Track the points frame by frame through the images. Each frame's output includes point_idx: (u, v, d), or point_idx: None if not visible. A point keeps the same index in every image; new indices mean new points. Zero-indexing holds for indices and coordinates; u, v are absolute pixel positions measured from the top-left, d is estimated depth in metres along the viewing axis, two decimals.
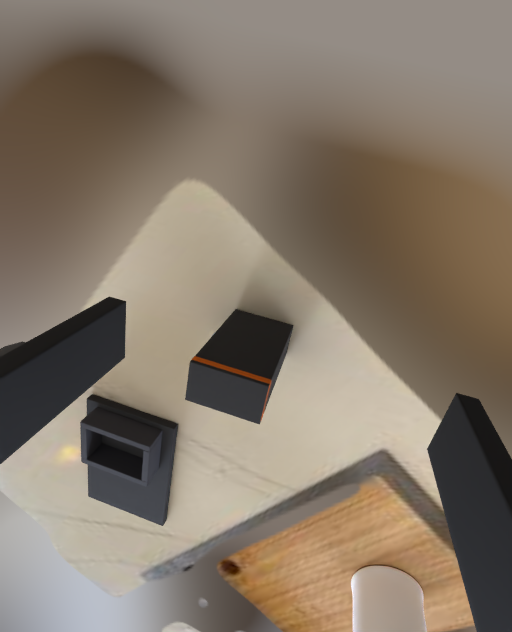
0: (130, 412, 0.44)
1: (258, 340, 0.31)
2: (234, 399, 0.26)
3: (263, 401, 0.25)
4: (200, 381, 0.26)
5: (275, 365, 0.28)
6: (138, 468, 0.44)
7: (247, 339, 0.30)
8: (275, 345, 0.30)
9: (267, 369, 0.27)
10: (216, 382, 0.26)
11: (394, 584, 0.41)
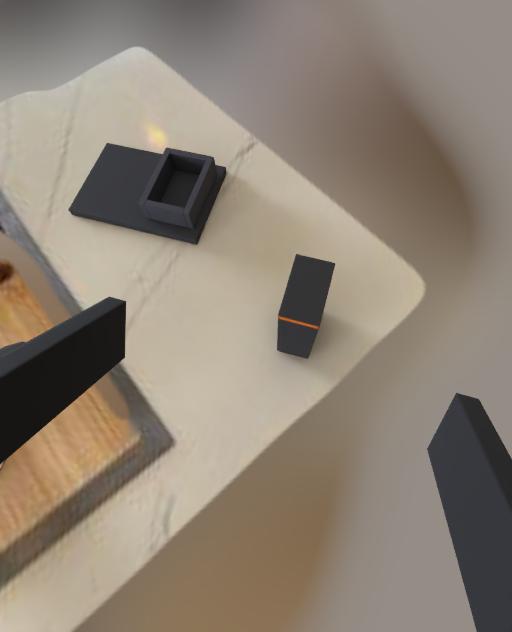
0: (211, 203, 0.46)
1: None
2: (301, 295, 0.30)
3: (303, 320, 0.29)
4: (316, 269, 0.31)
5: (315, 335, 0.32)
6: (154, 198, 0.45)
7: None
8: None
9: None
10: (317, 282, 0.30)
11: None
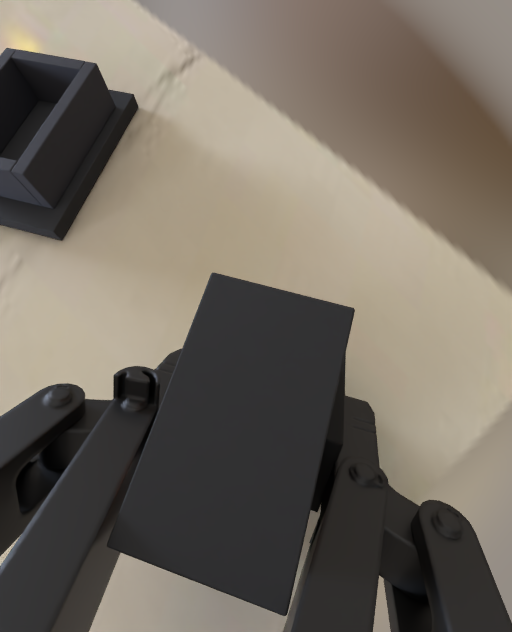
0: (97, 159, 0.24)
1: None
2: (217, 450, 0.07)
3: (213, 581, 0.06)
4: (284, 332, 0.08)
5: None
6: None
7: None
8: None
9: None
10: (285, 388, 0.08)
11: None
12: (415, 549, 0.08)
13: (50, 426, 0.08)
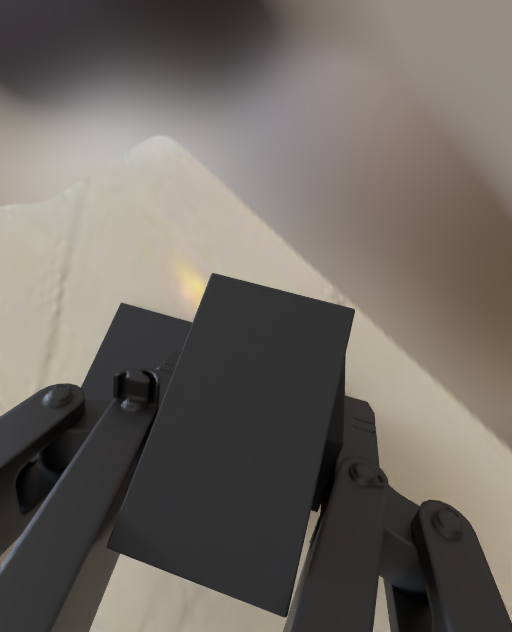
0: None
1: None
2: (217, 451, 0.07)
3: (213, 582, 0.06)
4: (284, 332, 0.08)
5: None
6: None
7: None
8: None
9: None
10: (285, 389, 0.08)
11: None
12: (415, 550, 0.08)
13: (50, 426, 0.08)
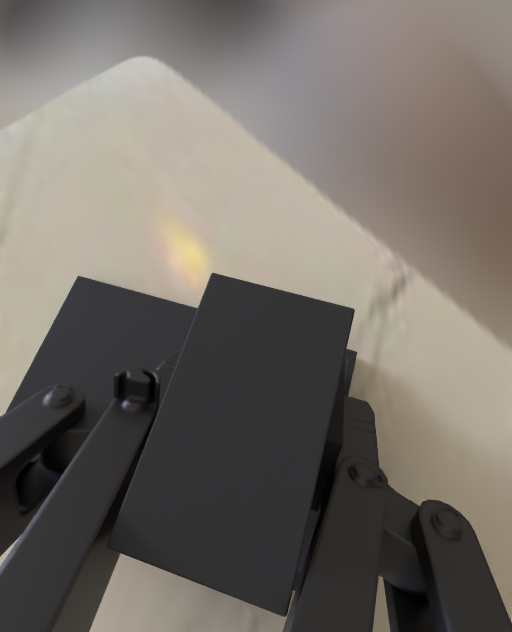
0: None
1: None
2: (217, 451, 0.07)
3: (213, 582, 0.06)
4: (284, 332, 0.08)
5: None
6: None
7: None
8: None
9: None
10: (285, 389, 0.08)
11: None
12: (415, 550, 0.08)
13: (50, 426, 0.08)
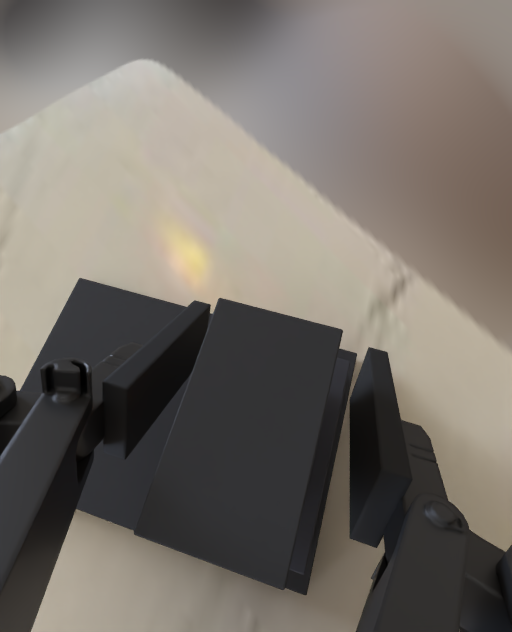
0: (333, 463, 0.18)
1: None
2: (225, 453, 0.08)
3: (223, 562, 0.08)
4: (281, 350, 0.09)
5: None
6: None
7: None
8: None
9: None
10: (282, 400, 0.09)
11: None
12: (507, 603, 0.07)
13: None
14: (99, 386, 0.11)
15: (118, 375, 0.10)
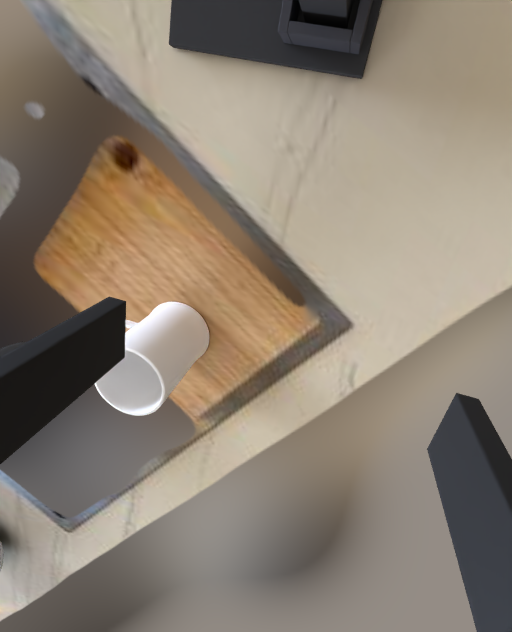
0: None
1: None
2: None
3: None
4: None
5: None
6: (295, 8, 0.28)
7: None
8: None
9: None
10: None
11: (202, 343, 0.44)
12: None
13: None
14: None
15: None
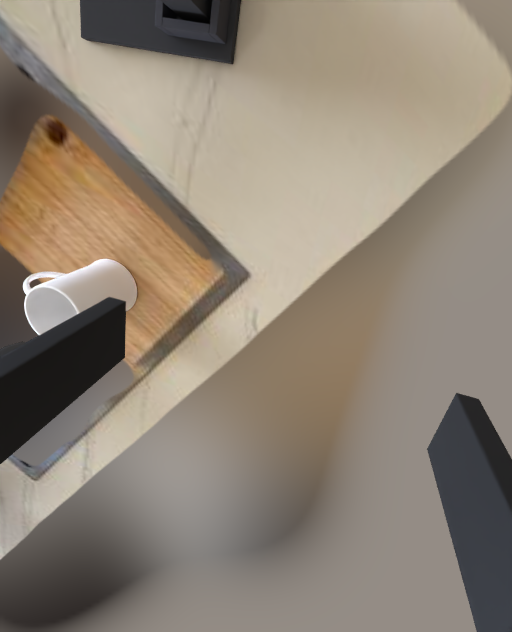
0: None
1: None
2: None
3: None
4: None
5: None
6: None
7: None
8: None
9: None
10: None
11: (129, 293, 0.51)
12: None
13: None
14: None
15: None
